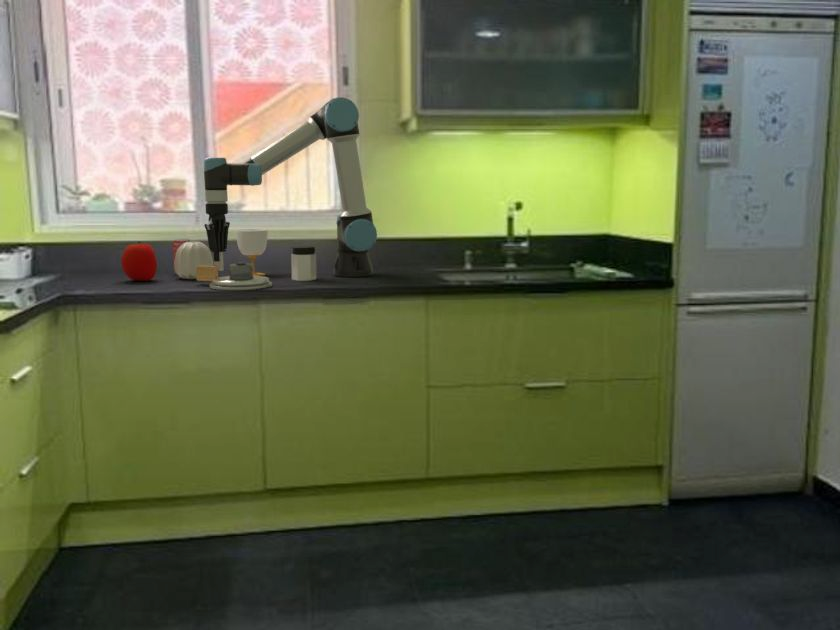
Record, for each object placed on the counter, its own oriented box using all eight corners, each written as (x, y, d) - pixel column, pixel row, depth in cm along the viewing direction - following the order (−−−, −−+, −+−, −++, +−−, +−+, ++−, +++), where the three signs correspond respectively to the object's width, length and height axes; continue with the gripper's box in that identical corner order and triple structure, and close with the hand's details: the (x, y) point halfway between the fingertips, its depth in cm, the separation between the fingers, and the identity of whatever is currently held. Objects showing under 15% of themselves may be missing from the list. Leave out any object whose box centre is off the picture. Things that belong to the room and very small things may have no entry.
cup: (251, 272, 321) (249, 228, 318) (275, 274, 315) (273, 229, 312) (231, 275, 311) (229, 230, 308) (255, 277, 305) (253, 231, 302)
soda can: (194, 274, 314) (193, 240, 312) (175, 275, 312) (173, 240, 309) (192, 272, 321) (191, 238, 318) (173, 273, 318) (171, 239, 316)
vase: (202, 281, 295) (201, 244, 293) (167, 280, 298) (166, 243, 296) (220, 276, 308) (219, 240, 306) (186, 275, 312) (185, 239, 309)
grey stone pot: (257, 278, 285) (257, 261, 284) (245, 280, 277) (245, 264, 276) (237, 277, 287) (236, 261, 286) (225, 279, 280) (224, 263, 279)
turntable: (278, 280, 288) (278, 265, 288) (252, 287, 271) (251, 271, 270) (213, 277, 296) (212, 262, 295) (183, 284, 278) (182, 268, 277)
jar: (320, 279, 300) (319, 246, 297) (301, 281, 294) (300, 248, 292) (307, 277, 306) (306, 245, 304) (288, 279, 301) (287, 246, 299)
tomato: (164, 279, 299) (162, 240, 297) (146, 283, 288) (144, 243, 286) (134, 278, 302) (132, 239, 300) (115, 282, 292) (113, 242, 289)
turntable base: (282, 283, 289) (282, 280, 289) (253, 291, 270) (253, 288, 269) (229, 281, 295) (229, 278, 295) (197, 289, 276) (197, 286, 275)
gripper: (217, 201, 292) (219, 268, 296) (196, 203, 279) (199, 272, 284) (235, 202, 289) (238, 268, 294) (216, 203, 277) (218, 273, 281)
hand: (219, 270), depth 289 cm, fingers closed
